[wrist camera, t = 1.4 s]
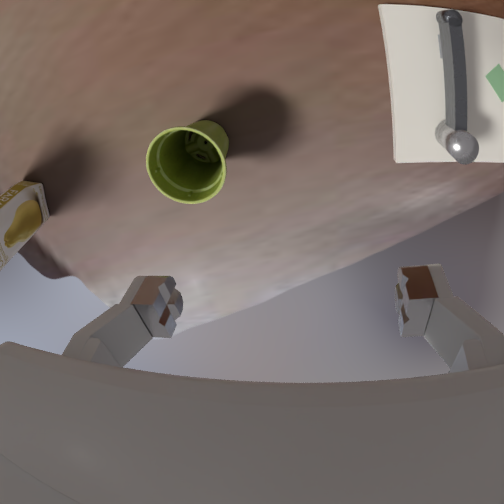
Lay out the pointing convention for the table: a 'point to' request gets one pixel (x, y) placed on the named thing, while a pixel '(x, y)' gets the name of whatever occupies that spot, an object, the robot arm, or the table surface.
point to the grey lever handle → (455, 91)
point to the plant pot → (189, 162)
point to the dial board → (442, 82)
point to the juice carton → (20, 217)
